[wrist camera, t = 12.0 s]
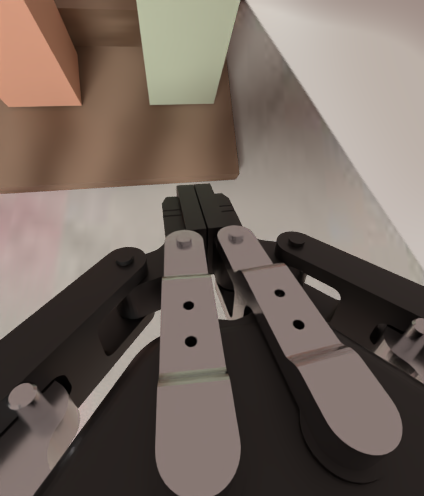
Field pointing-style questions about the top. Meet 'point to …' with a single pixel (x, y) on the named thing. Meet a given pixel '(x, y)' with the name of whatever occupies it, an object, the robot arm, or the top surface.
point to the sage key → (185, 47)
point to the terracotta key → (36, 56)
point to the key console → (114, 119)
